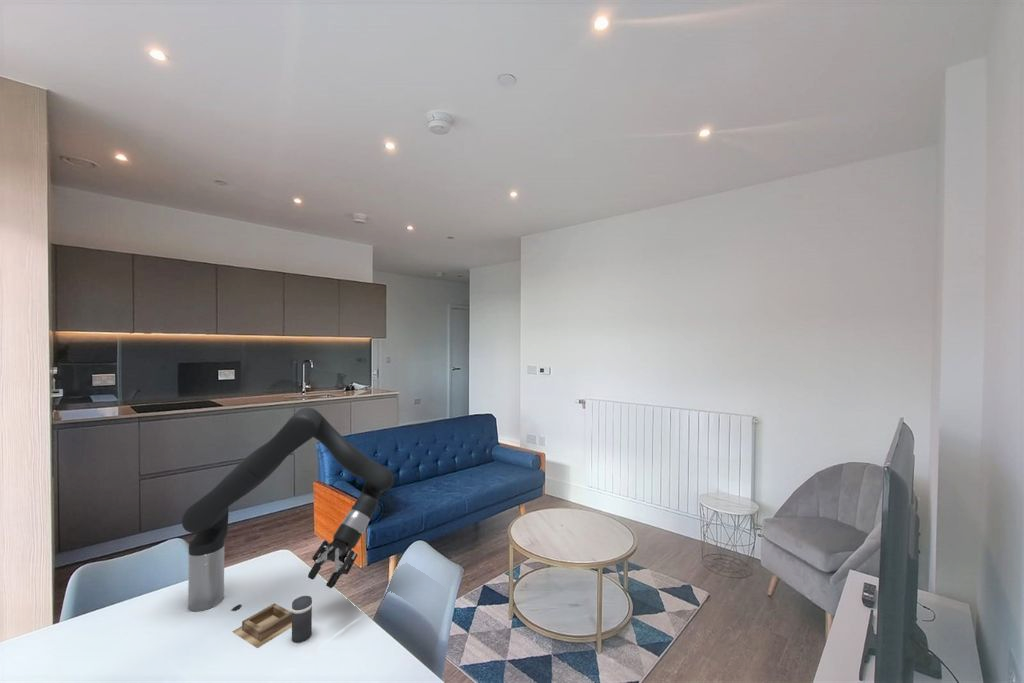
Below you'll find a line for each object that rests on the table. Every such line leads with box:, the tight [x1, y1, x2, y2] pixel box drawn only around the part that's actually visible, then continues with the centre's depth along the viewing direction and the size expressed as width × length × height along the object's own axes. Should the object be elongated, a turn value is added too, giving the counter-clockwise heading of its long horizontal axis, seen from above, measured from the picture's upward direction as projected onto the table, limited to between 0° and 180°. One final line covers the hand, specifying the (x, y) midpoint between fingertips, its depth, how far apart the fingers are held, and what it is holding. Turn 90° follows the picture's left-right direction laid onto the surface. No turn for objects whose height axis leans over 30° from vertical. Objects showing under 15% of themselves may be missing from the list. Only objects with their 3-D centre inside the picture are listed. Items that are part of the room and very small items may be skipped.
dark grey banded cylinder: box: [290, 595, 313, 644], centre depth 115 cm, size 5×5×10 cm
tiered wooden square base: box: [231, 603, 292, 649], centre depth 119 cm, size 13×13×3 cm
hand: (319, 582), depth 119 cm, fingers open, 8 cm apart
